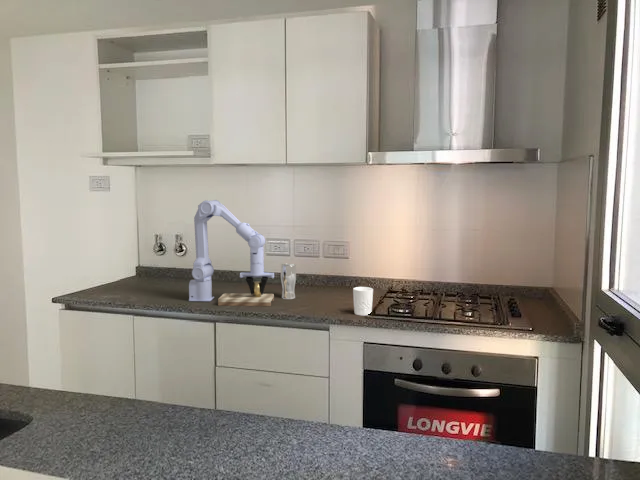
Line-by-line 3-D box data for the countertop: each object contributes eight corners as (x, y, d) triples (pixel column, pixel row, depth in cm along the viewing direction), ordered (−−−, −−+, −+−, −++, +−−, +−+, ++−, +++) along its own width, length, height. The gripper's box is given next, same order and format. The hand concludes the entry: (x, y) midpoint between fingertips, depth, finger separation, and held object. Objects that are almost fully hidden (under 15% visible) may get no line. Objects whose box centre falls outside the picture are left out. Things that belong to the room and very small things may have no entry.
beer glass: (294, 299, 231) (294, 266, 229) (278, 299, 232) (278, 265, 231) (297, 296, 238) (297, 263, 236) (283, 295, 239) (283, 263, 238)
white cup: (352, 315, 203) (352, 290, 202) (353, 310, 211) (353, 286, 210) (372, 316, 202) (372, 290, 201) (373, 311, 209) (373, 287, 208)
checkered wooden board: (218, 305, 219) (218, 299, 219) (224, 299, 231) (224, 293, 231) (270, 306, 218) (270, 299, 218) (273, 300, 230) (273, 293, 230)
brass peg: (252, 303, 222) (251, 282, 222) (253, 301, 226) (253, 281, 226) (261, 303, 222) (261, 283, 222) (262, 302, 226) (262, 281, 226)
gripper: (275, 261, 226) (275, 292, 228) (241, 261, 227) (242, 292, 228) (273, 263, 219) (273, 295, 221) (238, 263, 220) (239, 295, 221)
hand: (257, 294), depth 224 cm, fingers open, 4 cm apart
